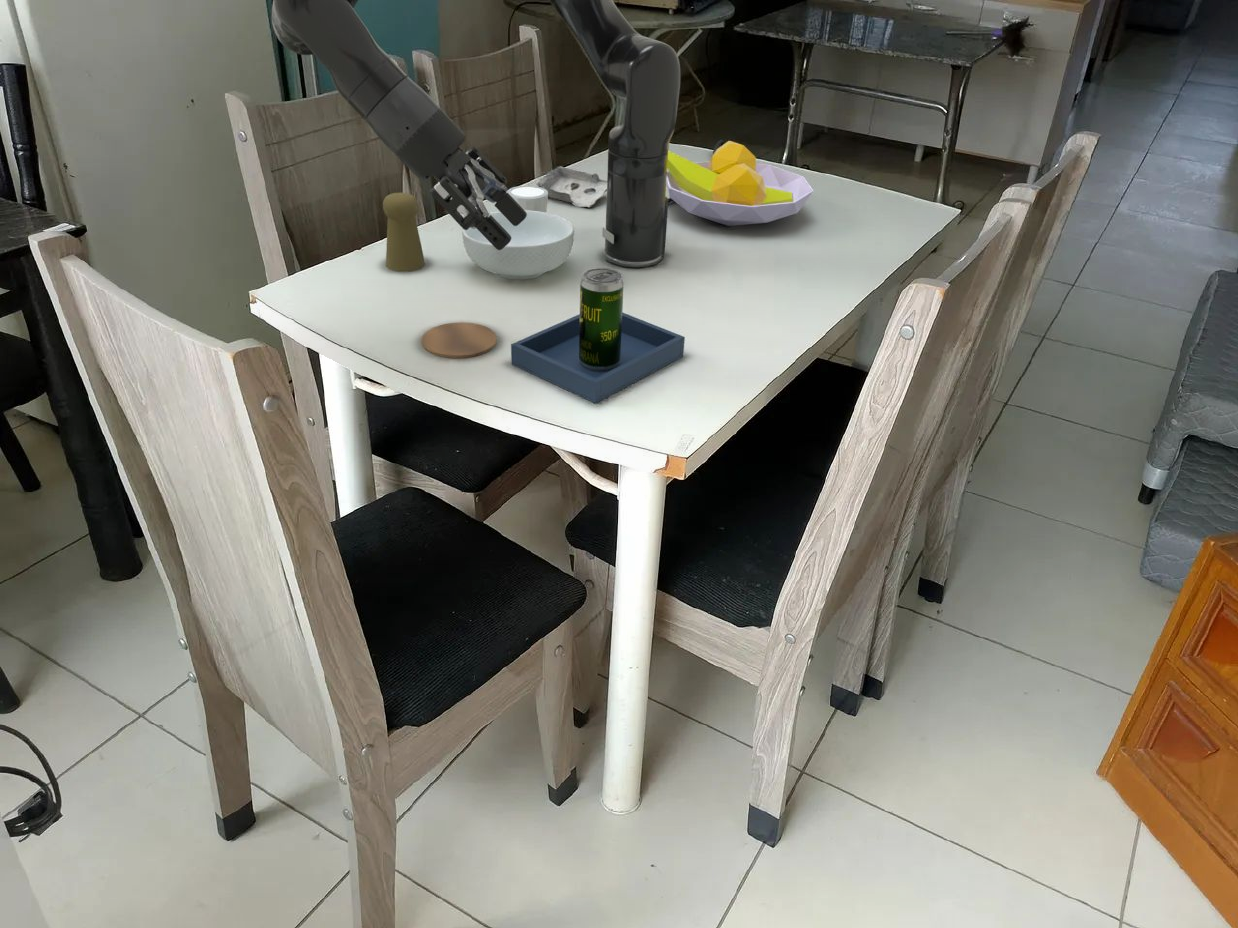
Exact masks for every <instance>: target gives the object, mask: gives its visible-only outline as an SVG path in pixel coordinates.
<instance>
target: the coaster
mask: <svg viewBox="0 0 1238 928" xmlns="http://www.w3.org/2000/svg"><path fill="white" fill-rule="evenodd" d="M497 343H498V336H497V334H496V332H495V331H494V330H493V329H491V328H489V327H488V326H486V325H482V324H478V323H474V322H449V323H443V324H440V325H436V326H434V327H431V328H429V329H428V330H427V331H425V333H423V335H422V337H421V345H422V347H423V349H424V350H426V352H429V353H430V354H433V355H435V356H438V357H443V358H448V359H449V358H450V359H465V358H472V357H478V356H480V355H481V356H482V355H483V354H485V353H488V352H490V351H491V350H493V349H494V348H495V346H496V345H497Z"/></svg>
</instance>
